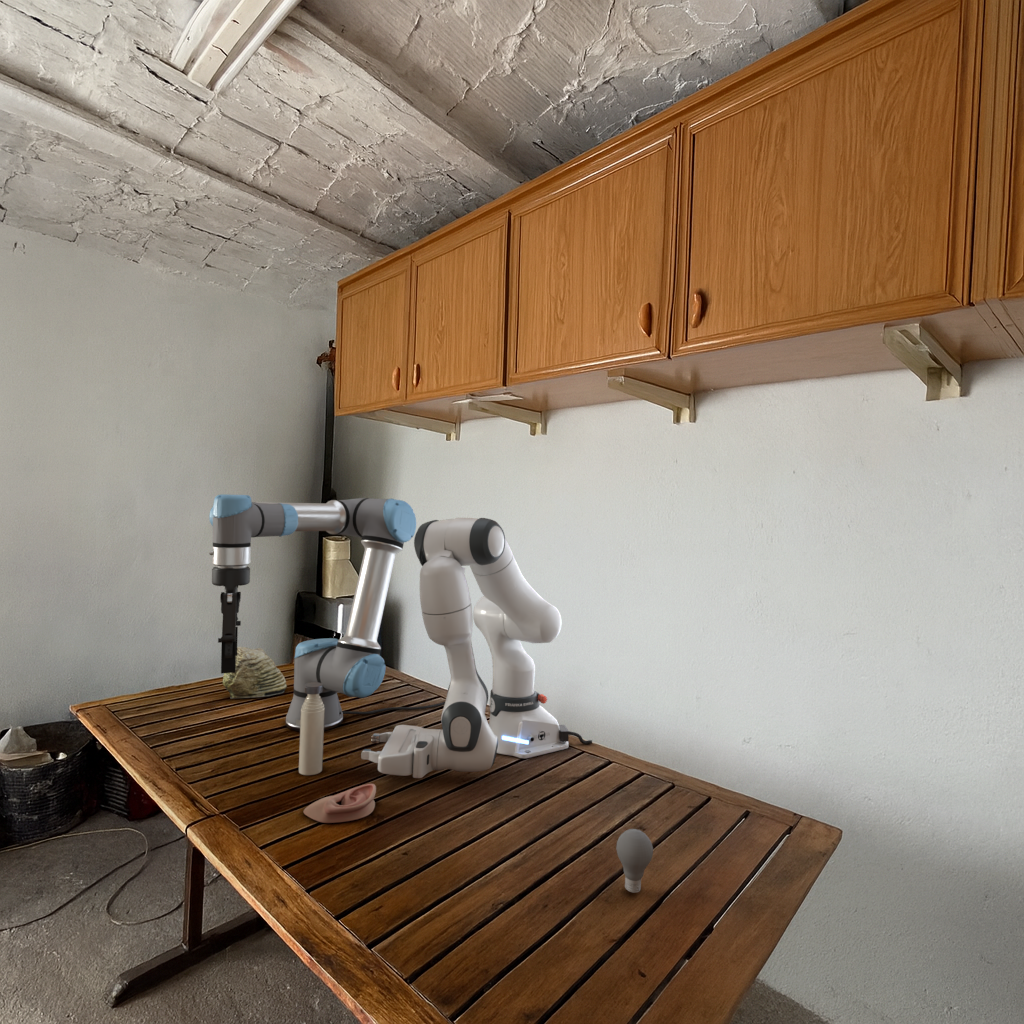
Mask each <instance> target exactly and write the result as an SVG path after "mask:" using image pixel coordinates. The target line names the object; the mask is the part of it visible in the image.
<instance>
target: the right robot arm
mask: <svg viewBox="0 0 1024 1024" xmlns="http://www.w3.org/2000/svg"><path fill="white" fill-rule="evenodd" d="M413 547H414V552H415V555H416V557H417V559H418V561H419V564H420V566H421V568H420V571H419V602H420V610H421V615H422V620H423V621H422V622H423V625H424V627H425V631H426V633H427V636H428V638H429V639H430V640H431V641H432V642H433V643H435V644H437V645H440V646H442V647H443V648H444V649H445V653H446V658H447V664H448V669H449V675H450V682H449V684H448V688H447V693H446V697H445V701H444V702H445V704H444V705H443V707H442V711H441V715H440V716H441V717H440V722H441V728H442V729H437V728H424V727H422V726H417V725H411V724H410V725H408V724H397V725H395V726H394V729H393V731H385V732H381V733H373V734H372V736H371V743H372V744H380V743H384V746H383V748H382V750H377V751H374V750H371V749H370V748H364V749H362V751H361V753H360V758H361V760H367V761H370V762H372V763H375V764H377V771H378V772H379V773H381V774H384V775H390V776H402V777H404V776H405V777H406V776H412V778H413V779H423V777H425V776H426V775H427V774H429V773H431V772H433V771H443V770H451V771H455V772H462V773H477V772H485V771H489V770H490V769H492V768H493V766H494V764H495V762H496V758H497V755H498V754H499V755H505V756H513V757H516V758H519V759H529V758H534V757H537V756H542V755H546V754H550V753H554V752H558V751H563V750H566V749H569V747H570V746H569V745H570V743H569V736H574V737H576V738H578V740H579V742H580V743H581V744H583V745H591V744H593V740H592V739H589V740H588V739H587V740H584V739H583V736H582V735H581V734H579V733H577V732H574V731H570V730H569V729H568V728H567V726H566V724H560V723H559V722H558V720H557V718H556V717H555V716H553V715H552V713H550V712H549V711H548V710H547V709H545V708H544V707H543V706H541V705H540V703H541V704H544V705H545V704H547V702H548V697H547V696H546V695H544V694H543V693H539V692H538V691H536V690H535V681H536V680H535V678H536V665H535V661H534V659H533V658H532V657H531V656H530V655H529V654H528V653H527V651H526V650H525V648H524V646H523V644H522V642H524V643H529V644H550V643H552V642H553V641H554V640H556V639H557V637H558V636H559V634H560V632H561V629H562V626H563V625H562V624H563V621H562V616H561V613H560V610H559V609H558V607H556V606H555V605H553V604H551V603H550V602H548V601H547V600H546V599H544V598H543V597H542V596H541V595H540V594H539V593H538V592H537V591H536V590H535V589H534V587H532V586H531V584H530V583H529V582H528V581H527V580H526V578H525V577H524V575H523V573H522V571H521V568H520V567H519V565H518V563H517V560H516V557H515V555H514V553H513V551H512V548H511V546H510V544H509V542H508V540H507V538H506V535H505V532H504V529H503V528H502V526H501V525H500V524H499V523H498V522H497V521H496V520H493V519H491V518H486V517H479V518H475V517H455V518H448V519H447V518H446V519H441V520H438V519H433V520H429V521H427V522H424V523H422V524H421V525H419V527H418V528H417V530H416V531H415V534H414V540H413ZM467 566H469V567H470V570H471V573H472V574H473V577H474V578H475V581H476V583H477V586H478V588H479V590H480V592H481V594H482V595H483V596H481V597H480V598H479V599H478V600H477V601H476V603H475V605H474V607H473V605H472V599H471V593H470V588H469V585H468V581H467V578H466V575H465V572H466V567H467ZM473 623H474V625H475V627H476V628H477V629H478V630H479V632H480V633H481V634H482V635H483V637H484V640H485V641H486V644H487V646H488V649H489V652H490V656H491V662H492V684H491V686H492V687H491V690H490V693H489V690H488V688H487V686H486V684H485V682H484V680H483V679H482V677H481V676H480V675H479V671H478V670H477V665H476V661H475V654H474V649H473V643H472V636H473V626H474V625H473ZM488 703H489V720H487V715H486V708H487V705H488Z"/></svg>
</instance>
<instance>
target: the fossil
mask: <svg viewBox="0 0 1024 1024" xmlns="http://www.w3.org/2000/svg"><path fill="white" fill-rule="evenodd" d="M222 676H223V677H222V685H223V687H224V688H225V690H226V691H228V693H229V698H230V699H250V698H264V697H271V696H275V695H281V694H284V693H285V691H286V689H287V687H288V686H287V680H286V678H285V676H284V674H283V673H282V672H281V669H279V668H278V667H277V665H276V663H275V662H274V660H273V659H272V658H271V657H270V656H269V655H268V654H267V653H266V652H265V650H264V649H263V648H260V647H258V648H251V647H247V646H246V647H245V646H237V656H236V670H235V673H223V675H222Z"/></svg>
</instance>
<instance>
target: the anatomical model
mask: <svg viewBox="0 0 1024 1024" xmlns="http://www.w3.org/2000/svg"><path fill="white" fill-rule="evenodd" d="M376 793H377V785H376V784H374V783H365V784H362V785H359V786H355V787H353V788H349V789H347V790H345V791H341V792H340V793H337V794H334V795H329V796H326V797H322V798H320V799H318V800H316V801H314V802H312V803H311V804H309V805H308V806H306V807H305V808H304V809H303V810H302V811H303V814H304V815H305V816H307V817H308V818H309V819H311V820H313V821H316V822H318V823H324V824H332V823H333V824H335V823H345V822H350V821H351V822H352V821H355V820H356V821H357V820H359V819H363V818H365V817H368V816H369V815H371V814H372V813H373V812H374V810H375V808H376V802H375V800H374V799H375V796H376Z"/></svg>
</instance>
